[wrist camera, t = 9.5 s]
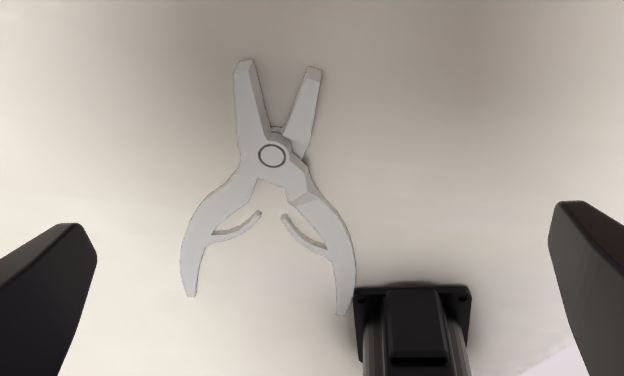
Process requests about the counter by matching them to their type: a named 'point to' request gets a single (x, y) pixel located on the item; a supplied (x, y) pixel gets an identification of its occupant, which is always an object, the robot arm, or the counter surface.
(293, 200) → the pliers
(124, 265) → the counter surface
